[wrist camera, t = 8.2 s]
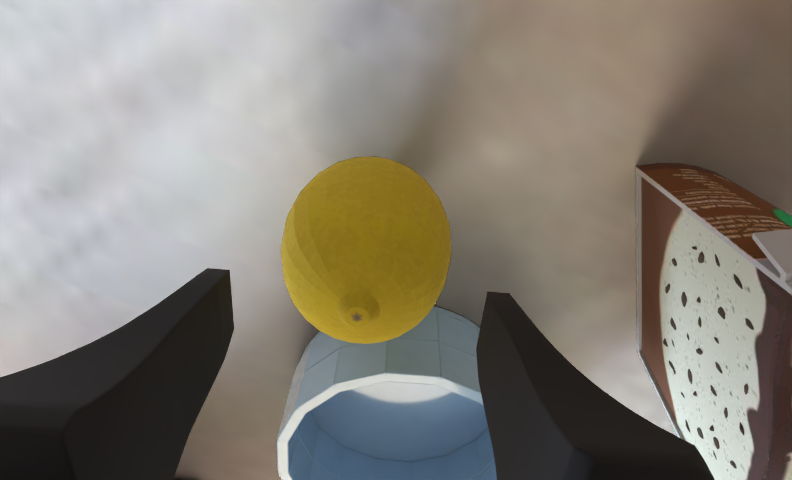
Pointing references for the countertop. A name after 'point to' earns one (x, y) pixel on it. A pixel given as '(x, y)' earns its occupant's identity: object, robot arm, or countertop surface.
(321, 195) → the lemon
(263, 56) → the countertop surface
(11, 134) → the countertop surface
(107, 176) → the countertop surface
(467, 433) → the pan
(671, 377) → the food container
